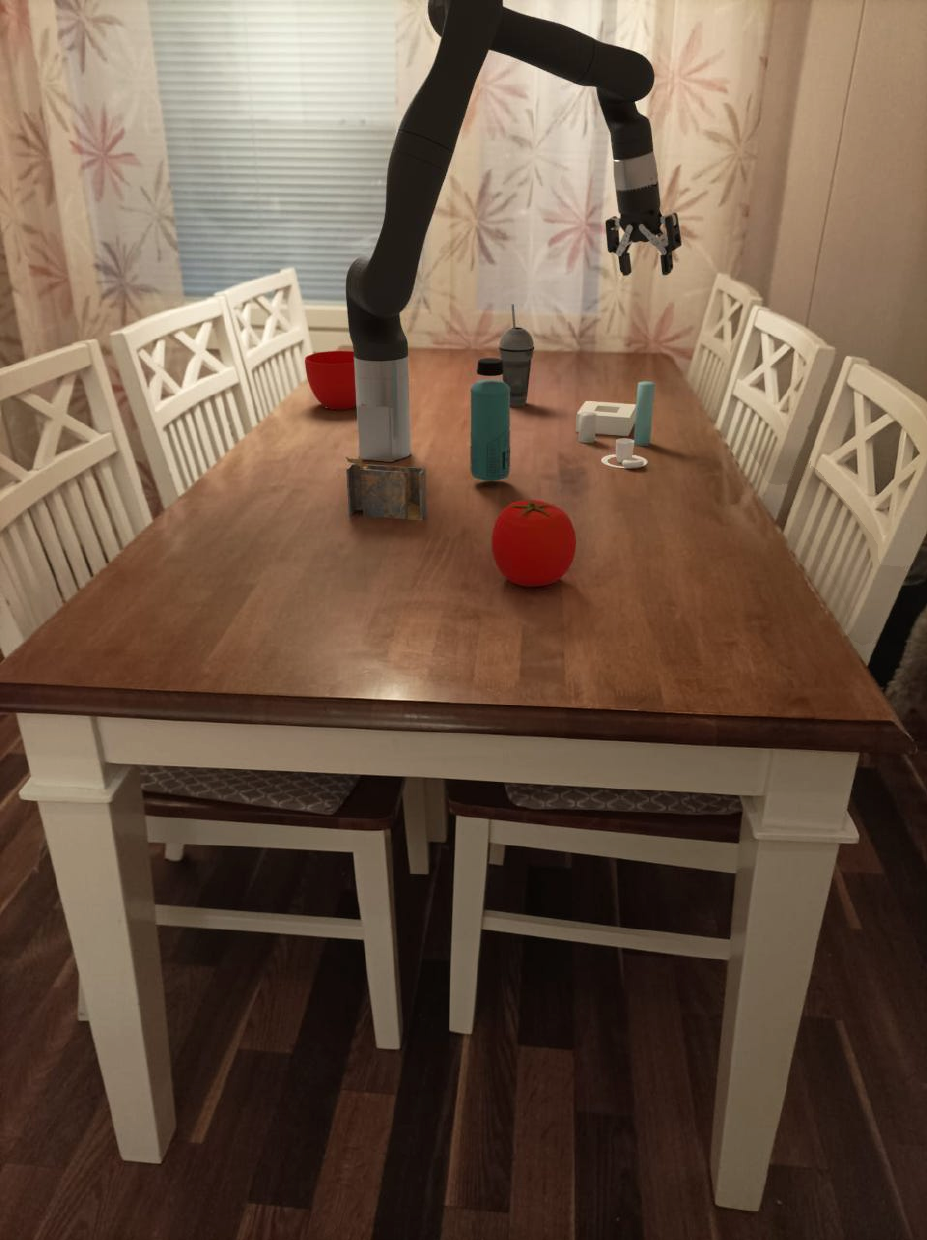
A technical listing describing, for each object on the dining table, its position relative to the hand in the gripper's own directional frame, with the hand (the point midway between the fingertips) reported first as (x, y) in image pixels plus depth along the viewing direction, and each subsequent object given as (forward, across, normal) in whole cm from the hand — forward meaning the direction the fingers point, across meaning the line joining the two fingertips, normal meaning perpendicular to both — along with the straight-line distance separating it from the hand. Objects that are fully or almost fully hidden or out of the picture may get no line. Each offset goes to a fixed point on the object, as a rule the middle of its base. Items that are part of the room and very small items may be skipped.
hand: (647, 274), depth 179 cm
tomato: (+13, +28, -80) cm, 86 cm away
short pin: (+22, -1, -25) cm, 33 cm away
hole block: (+24, -4, -15) cm, 29 cm away
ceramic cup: (+15, -53, -35) cm, 65 cm away
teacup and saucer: (+22, +10, -34) cm, 42 cm away
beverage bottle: (+16, 0, -54) cm, 56 cm away
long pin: (+24, +8, -20) cm, 32 cm away
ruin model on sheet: (+12, -2, -75) cm, 76 cm away
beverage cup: (+23, -28, -12) cm, 38 cm away
